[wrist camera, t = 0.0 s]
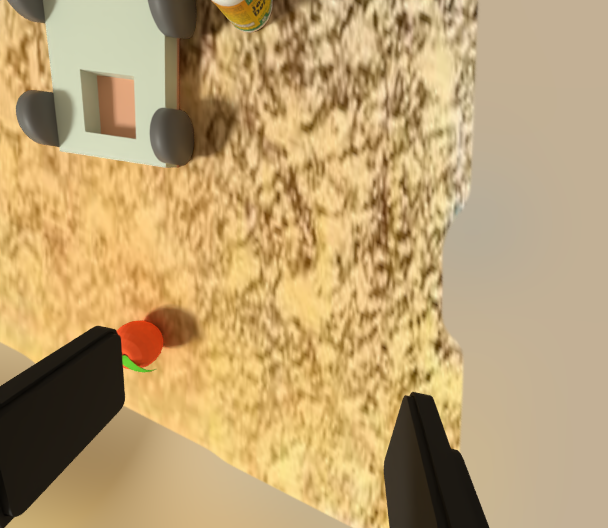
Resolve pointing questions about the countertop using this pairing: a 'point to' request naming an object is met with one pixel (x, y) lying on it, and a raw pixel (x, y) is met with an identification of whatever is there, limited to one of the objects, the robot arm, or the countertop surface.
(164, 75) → the chassis
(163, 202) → the countertop surface
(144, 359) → the tomato
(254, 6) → the supplement bottle
